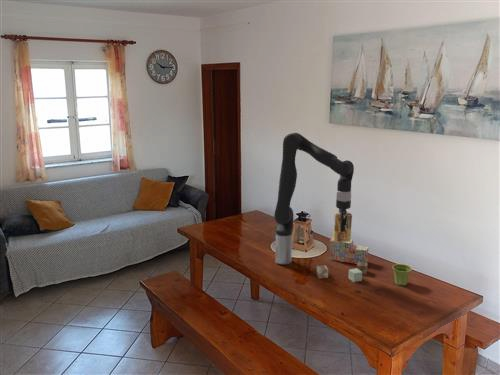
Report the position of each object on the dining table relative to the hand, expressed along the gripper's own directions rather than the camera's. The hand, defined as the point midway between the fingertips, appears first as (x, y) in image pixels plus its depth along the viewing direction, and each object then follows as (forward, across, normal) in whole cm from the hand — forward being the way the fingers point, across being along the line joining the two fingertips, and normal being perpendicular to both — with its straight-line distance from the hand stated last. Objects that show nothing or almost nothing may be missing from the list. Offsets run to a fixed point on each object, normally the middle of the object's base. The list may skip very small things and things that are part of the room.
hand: (342, 229), depth 237 cm
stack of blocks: (+26, -18, +7) cm, 32 cm away
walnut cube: (+25, -2, +12) cm, 28 cm away
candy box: (+7, 0, 0) cm, 7 cm away
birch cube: (+25, +4, -10) cm, 28 cm away
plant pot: (+25, +10, +30) cm, 41 cm away
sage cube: (+25, +7, +7) cm, 27 cm away
